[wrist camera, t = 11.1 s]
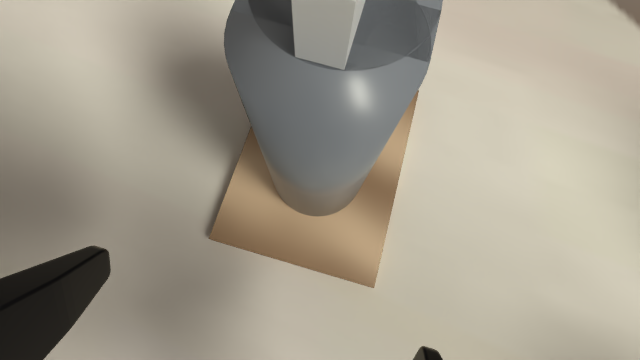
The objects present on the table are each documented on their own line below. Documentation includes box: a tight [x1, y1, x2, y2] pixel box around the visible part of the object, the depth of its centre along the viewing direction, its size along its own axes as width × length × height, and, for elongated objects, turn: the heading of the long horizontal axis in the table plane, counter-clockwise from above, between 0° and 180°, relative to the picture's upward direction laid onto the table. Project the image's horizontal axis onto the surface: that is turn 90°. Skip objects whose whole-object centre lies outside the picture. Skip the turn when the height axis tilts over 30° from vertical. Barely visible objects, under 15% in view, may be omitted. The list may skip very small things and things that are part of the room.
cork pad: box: [209, 90, 419, 288], centre depth 19 cm, size 12×9×1 cm
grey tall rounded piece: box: [224, 0, 443, 216], centre depth 12 cm, size 7×5×13 cm
